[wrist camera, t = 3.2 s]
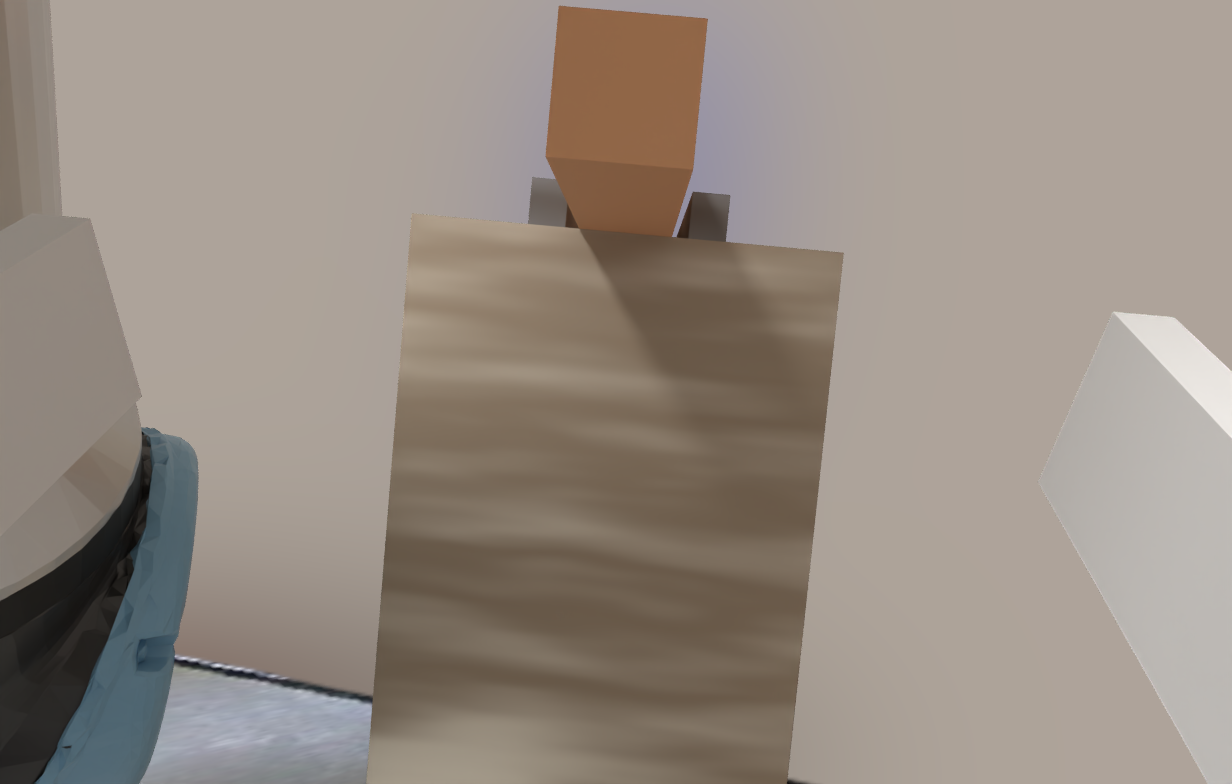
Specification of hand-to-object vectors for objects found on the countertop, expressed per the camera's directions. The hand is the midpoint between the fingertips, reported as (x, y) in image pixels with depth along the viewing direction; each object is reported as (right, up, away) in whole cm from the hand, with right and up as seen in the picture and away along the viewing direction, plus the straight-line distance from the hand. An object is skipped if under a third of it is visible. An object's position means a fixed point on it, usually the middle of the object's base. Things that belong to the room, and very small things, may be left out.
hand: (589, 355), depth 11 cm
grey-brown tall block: (-2, -25, +24) cm, 35 cm away
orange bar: (+1, +5, +19) cm, 19 cm away
